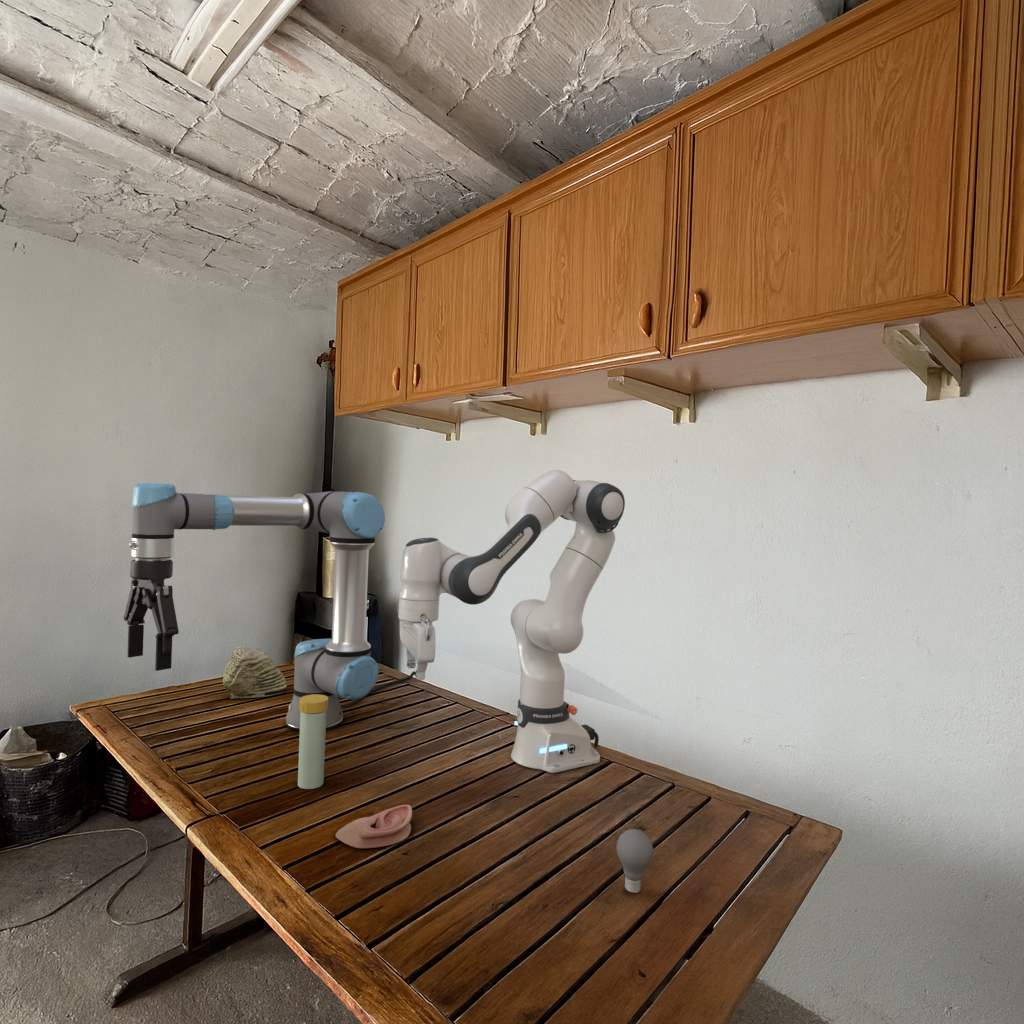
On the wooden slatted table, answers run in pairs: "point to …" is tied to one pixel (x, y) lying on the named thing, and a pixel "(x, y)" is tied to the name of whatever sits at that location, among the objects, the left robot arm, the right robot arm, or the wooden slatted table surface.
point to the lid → (313, 703)
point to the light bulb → (634, 857)
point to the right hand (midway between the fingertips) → (415, 673)
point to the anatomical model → (378, 828)
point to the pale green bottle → (311, 750)
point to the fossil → (252, 674)
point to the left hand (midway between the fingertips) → (148, 662)
